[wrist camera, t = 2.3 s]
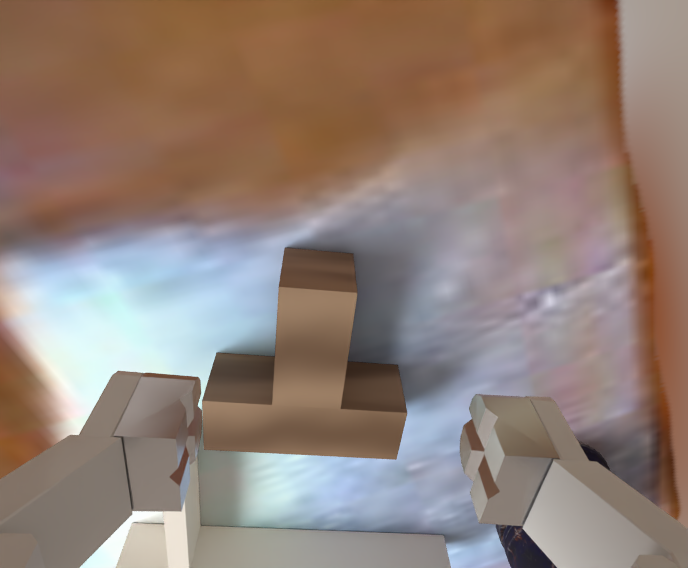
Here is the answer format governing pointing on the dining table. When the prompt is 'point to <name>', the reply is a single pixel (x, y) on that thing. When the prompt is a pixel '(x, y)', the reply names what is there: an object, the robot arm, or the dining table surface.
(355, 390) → the t block
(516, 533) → the rusty oil barrel
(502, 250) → the dining table surface
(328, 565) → the corner fence
